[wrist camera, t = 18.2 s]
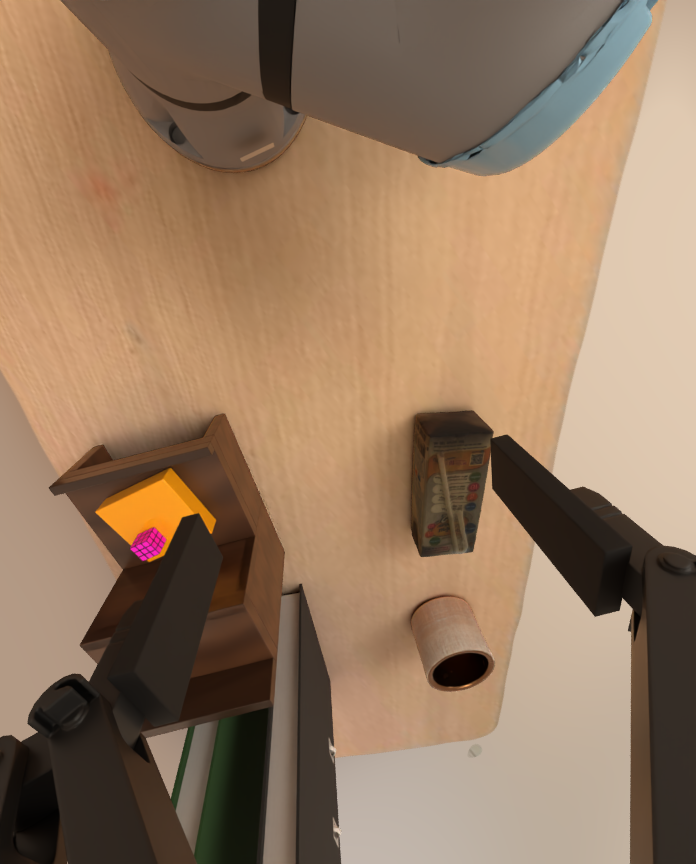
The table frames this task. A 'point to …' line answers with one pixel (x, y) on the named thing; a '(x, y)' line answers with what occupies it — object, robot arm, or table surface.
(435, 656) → the planter
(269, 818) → the books
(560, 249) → the table surface
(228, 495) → the step shelf
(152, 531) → the orange slab
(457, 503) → the beverage carton
